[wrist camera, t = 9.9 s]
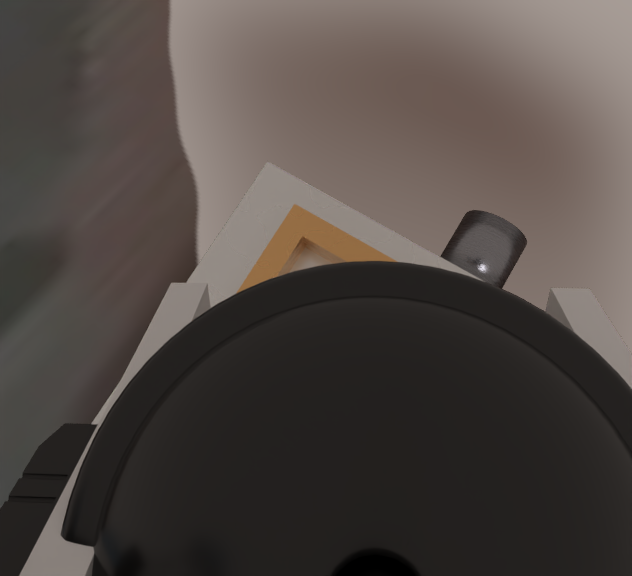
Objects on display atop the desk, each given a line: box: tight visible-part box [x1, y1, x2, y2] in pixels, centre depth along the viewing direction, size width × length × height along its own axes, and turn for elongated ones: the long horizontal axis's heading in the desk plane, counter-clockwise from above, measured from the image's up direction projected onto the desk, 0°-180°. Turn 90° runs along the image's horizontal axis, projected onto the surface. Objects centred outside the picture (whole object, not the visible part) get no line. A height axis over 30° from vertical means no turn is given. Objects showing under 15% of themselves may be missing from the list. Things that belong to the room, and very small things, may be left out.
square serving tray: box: [92, 162, 527, 424], centre depth 24 cm, size 20×21×6 cm
